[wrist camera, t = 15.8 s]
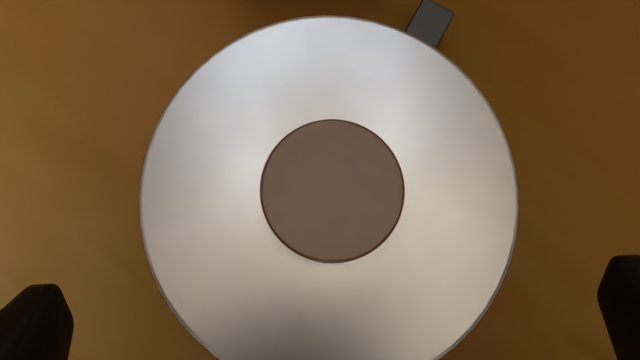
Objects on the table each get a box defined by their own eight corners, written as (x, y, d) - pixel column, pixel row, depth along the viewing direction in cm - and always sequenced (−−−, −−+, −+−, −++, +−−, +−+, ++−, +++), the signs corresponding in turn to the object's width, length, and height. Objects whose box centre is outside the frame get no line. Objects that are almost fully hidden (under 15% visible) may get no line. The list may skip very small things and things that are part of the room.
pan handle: (377, 156, 19) (380, 152, 18) (346, 139, 19) (348, 134, 18) (449, 22, 20) (455, 12, 19) (419, 6, 20) (424, -4, 19)
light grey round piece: (370, 384, 16) (424, 497, 9) (158, 266, 16) (35, 276, 9) (479, 171, 17) (612, 107, 9) (276, 63, 17) (251, -81, 10)
